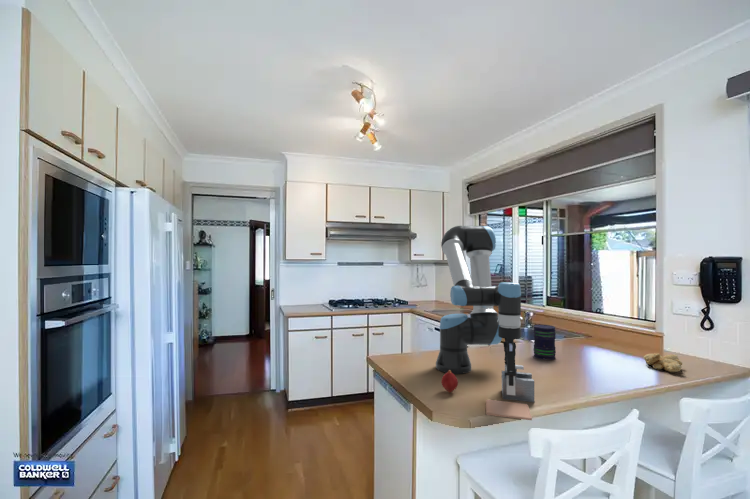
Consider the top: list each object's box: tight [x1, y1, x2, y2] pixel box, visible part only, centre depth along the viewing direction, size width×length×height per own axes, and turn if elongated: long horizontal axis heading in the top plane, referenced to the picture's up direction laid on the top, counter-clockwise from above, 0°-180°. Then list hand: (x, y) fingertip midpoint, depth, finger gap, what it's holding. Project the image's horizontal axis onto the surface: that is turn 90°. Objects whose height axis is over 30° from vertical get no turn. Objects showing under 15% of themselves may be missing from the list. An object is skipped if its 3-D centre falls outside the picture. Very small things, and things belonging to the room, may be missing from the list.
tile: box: [485, 399, 533, 421], centre depth 115 cm, size 13×11×1 cm
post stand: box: [504, 363, 525, 378], centre depth 128 cm, size 6×3×10 cm, turn 73°
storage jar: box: [533, 324, 557, 361], centre depth 178 cm, size 10×10×15 cm
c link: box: [501, 370, 535, 403], centre depth 128 cm, size 10×9×7 cm
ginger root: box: [643, 352, 683, 373], centre depth 161 cm, size 16×16×8 cm
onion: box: [440, 370, 459, 394], centre depth 131 cm, size 6×6×8 cm
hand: (509, 388), depth 128 cm, fingers open, 11 cm apart
